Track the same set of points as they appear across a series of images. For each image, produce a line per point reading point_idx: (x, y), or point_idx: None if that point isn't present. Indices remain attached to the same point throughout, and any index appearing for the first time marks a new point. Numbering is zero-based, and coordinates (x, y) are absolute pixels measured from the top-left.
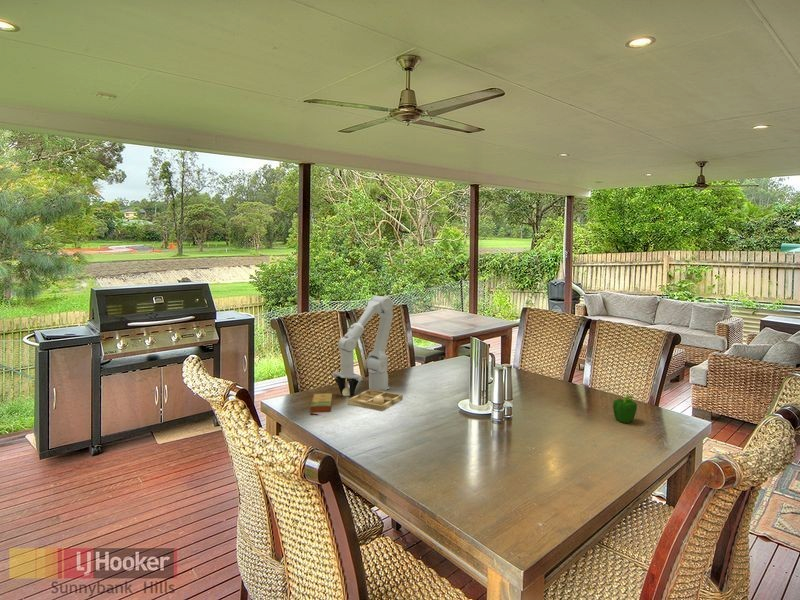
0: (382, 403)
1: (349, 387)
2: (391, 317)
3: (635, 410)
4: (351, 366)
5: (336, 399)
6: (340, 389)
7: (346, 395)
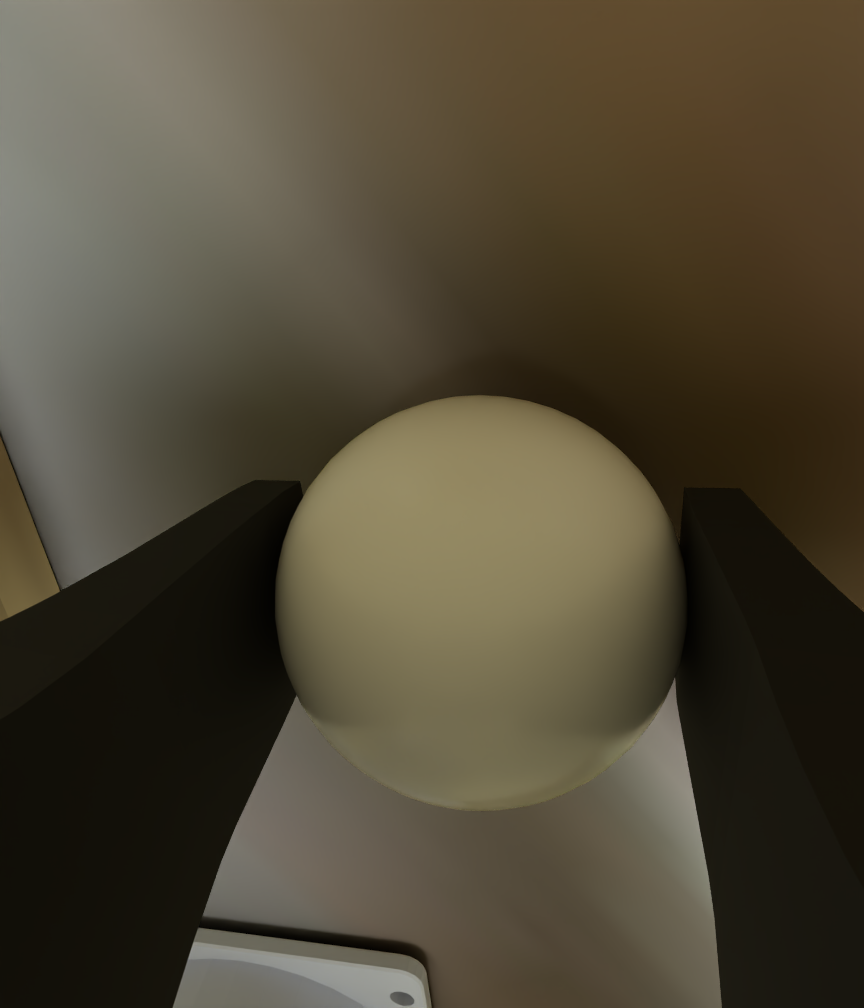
0: None
1: (402, 788)
2: None
3: None
4: None
5: (725, 103)
6: (762, 568)
7: (399, 412)
